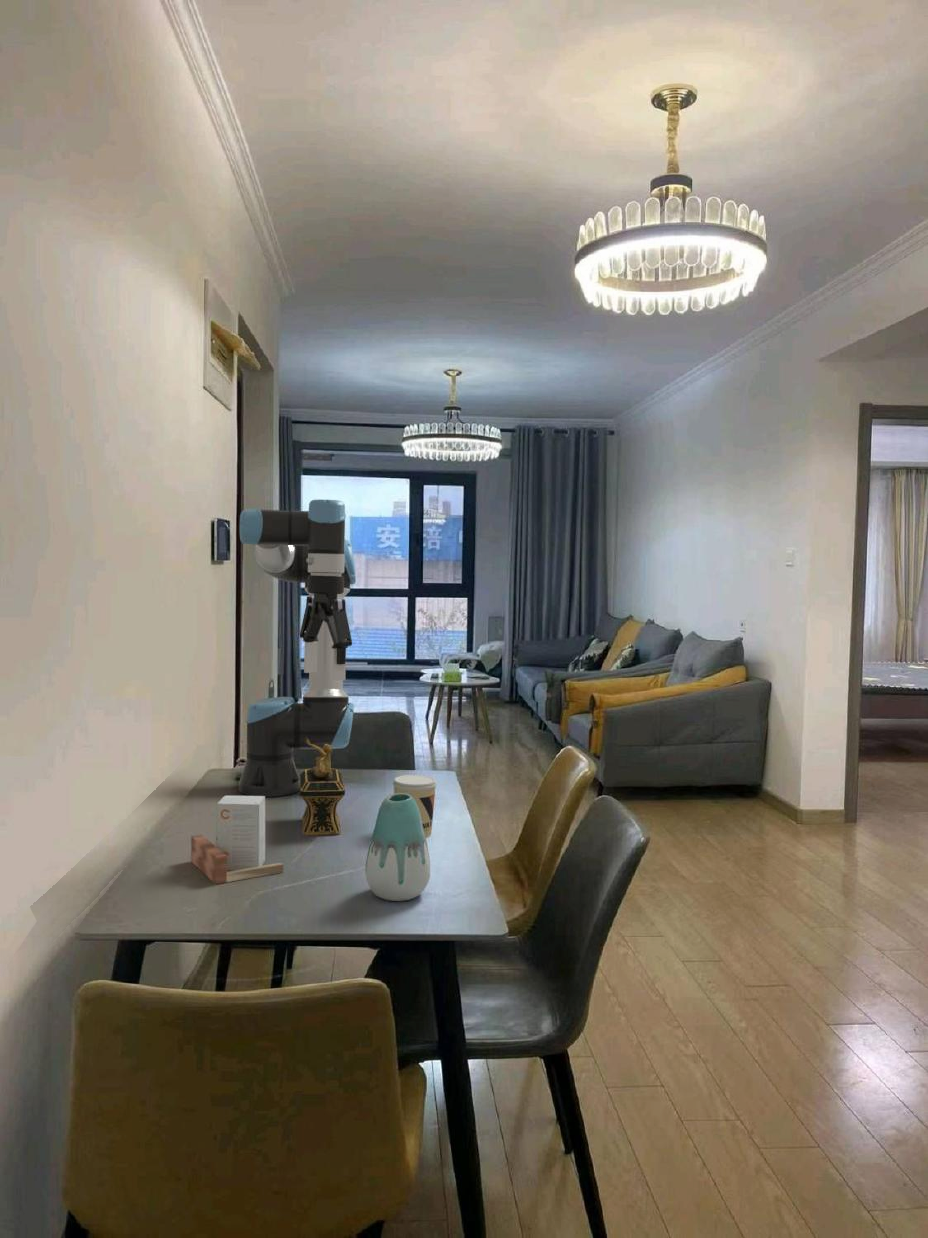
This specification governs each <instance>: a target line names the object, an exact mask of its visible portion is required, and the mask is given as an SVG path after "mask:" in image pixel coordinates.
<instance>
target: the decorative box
mask: <svg viewBox="0 0 928 1238" xmlns="http://www.w3.org/2000/svg"><path fill="white" fill-rule="evenodd" d="M306 739H307V742H306V741H305V742H306V743H307V744H308V745H310V746H312V747H314V748H315V749H314V750H317V751H318V752H319V753H320V756H318V757H315V762H316V763H315V764H316V765H315V766H313V767H311V768H307V769H304V770H303V771H302V772H301V773H300V774H299V780H300V783H299V785H300V789H299V796H300V797H301V798H302V800H303V801H304V802H305V804H306V807H305V810H304V812H303V814H302V817H301V824H302V826H301V827H302V828H301V829H302V835H304V836H307V837H309V836H336V835H339V834H341V833H342V831H341V826H340V820H339V815H338V813H337V807H338V804H339V802H340V801H341V800H342V798H344V796H345V795H346V790H345V784H344V781H343V776H342V773H341V772H340V771H339V770H338V769H337V768H331V767H332V766H331V765H332V764H331V763H332V761H331V755H332V752H333V749H332V746H331V745H328V744H325V745H324V747H323V748H322V749H320V747H318V746H316V745H313V744H310V742H309V740H308V738H306Z"/></svg>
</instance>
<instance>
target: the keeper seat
mask: <svg viewBox="0 0 928 1238" xmlns="http://www.w3.org/2000/svg"><path fill="white" fill-rule="evenodd" d="M190 838H191V839H190V841H191V843H190V845H191V846H190V847H191V848H190V851H191V853H190V854H191V855H190V857H191V858H190V861H191V863H192V864H193V865H194V866H195V867H197V868H198V869H199V870H200V871H201V872H202V873H203V874H204V875H205V876H206V877H207V878H208V879H210V881H212V883H214V884H215V885H219V884H224V883H230V882H236V881H241V880H242V881H243V880H247V879H253V878H259V877H264V876H270V875H271V876H272V875H275V874H280V873H284V863H282V862H278V863H271V864H266V865H265V864H263V865H262V866H258V867H253V868H247V869H241V870H235V871H230V870H227V855H226V854H224V853H223V852H222V851H221V850H220V849H218V848H217V845H215V844H213V843H212V842H211V841H210V840H209V839H208V838H206V837H205V836H204V835H203V834H198V835H192V836H191V837H190Z"/></svg>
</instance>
